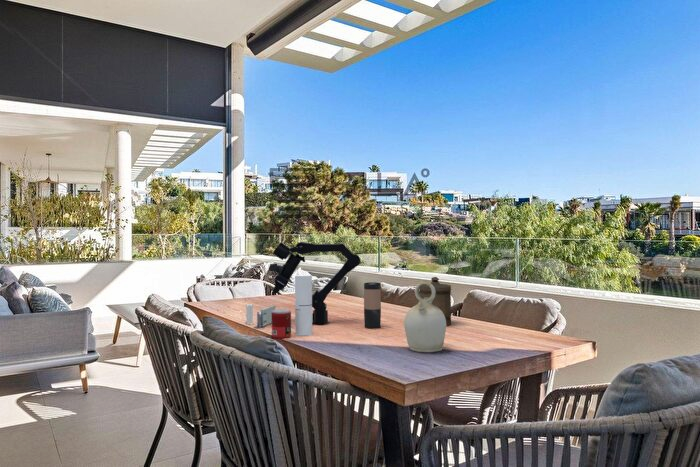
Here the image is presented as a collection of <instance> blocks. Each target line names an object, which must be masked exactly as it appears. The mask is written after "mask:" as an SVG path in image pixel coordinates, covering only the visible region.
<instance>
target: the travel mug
mask: <svg viewBox="0 0 700 467" xmlns="http://www.w3.org/2000/svg"><path fill="white" fill-rule="evenodd" d="M381 286H382V285H381V282H373V281H371V282H370V281H369V282H364V283H363V316H364V317H363V318H364V320H363V321H364V328H365V329H368V330H369V329H370V330H377V329H380V328H381V323H382V322H381V321H382V320H381V319H382V318H381V317H382V303H381V302H382V299H381V298H382V297H381V296H382V295H381V291H382V290H381V289H382V288H381Z"/></svg>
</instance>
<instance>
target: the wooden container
mask: <svg viewBox="0 0 700 467" xmlns="http://www.w3.org/2000/svg"><path fill="white" fill-rule="evenodd" d="M439 281H440V279H439V278H438V276H433V277H431V282H430V283H431V284H432V285H433V286H434V288H435V292H436V294H435V297H434V299H433V301H432V303H431V304H432V305H434V306H436V307H438V308H439V309H440V310H441V311H442V312H443V314H444V316H445V319H446V327H449V326H451V325H452V302H451V301H452V299H451V298H452V297H451V296H452V295H451V293H452V286H451V285H450V284H448V283H447V284H444V283H440V282H439ZM431 294H432V292H431V289H430V288H429V287H428V286H427V285H423V286H421V287H420V289H419V295H420V296H421V297H422V298H426V297H428V298H430V296H431Z"/></svg>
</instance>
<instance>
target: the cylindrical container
mask: <svg viewBox="0 0 700 467" xmlns="http://www.w3.org/2000/svg"><path fill="white" fill-rule="evenodd" d="M312 276H313V275H312V274H295V275H294V300H295V301H294V306H295V307H294V315H295V316H294V325H295V326H294V327H295V329H294V331H295V334H294V335H295V336H298V337H308V336H312V335H313V324H312V314H313V307H312V294H313V277H312Z"/></svg>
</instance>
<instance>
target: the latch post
mask: <svg viewBox="0 0 700 467" xmlns="http://www.w3.org/2000/svg"><path fill="white" fill-rule="evenodd" d="M245 307H246V308H245V311H246V315H245V317H246V324H247V325H252V324H251V323H253V324H254V310H253V308H254V304H251V303H250V304H246V306H245Z"/></svg>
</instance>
